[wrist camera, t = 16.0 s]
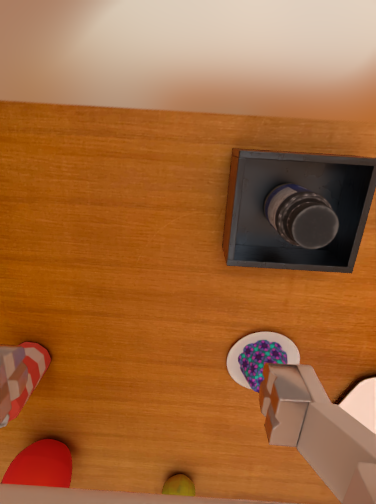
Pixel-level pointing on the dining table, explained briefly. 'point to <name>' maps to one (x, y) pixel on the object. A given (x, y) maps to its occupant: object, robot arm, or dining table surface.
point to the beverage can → (29, 376)
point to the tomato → (41, 465)
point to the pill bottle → (301, 216)
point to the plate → (362, 403)
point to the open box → (312, 178)
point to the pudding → (259, 357)
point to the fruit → (179, 486)
